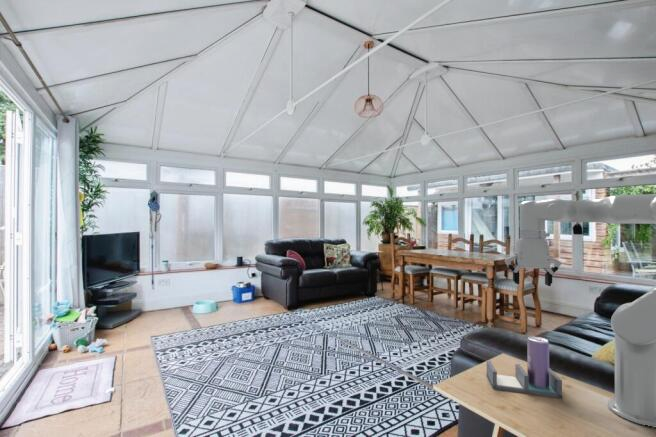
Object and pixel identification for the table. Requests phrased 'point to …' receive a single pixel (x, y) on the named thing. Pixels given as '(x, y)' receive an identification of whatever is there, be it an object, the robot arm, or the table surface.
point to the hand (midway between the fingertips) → (532, 284)
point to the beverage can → (538, 362)
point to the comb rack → (523, 382)
